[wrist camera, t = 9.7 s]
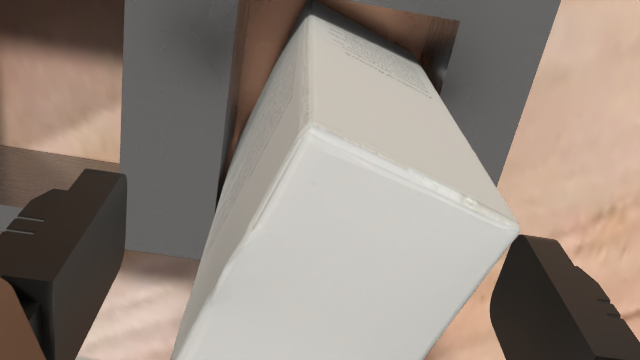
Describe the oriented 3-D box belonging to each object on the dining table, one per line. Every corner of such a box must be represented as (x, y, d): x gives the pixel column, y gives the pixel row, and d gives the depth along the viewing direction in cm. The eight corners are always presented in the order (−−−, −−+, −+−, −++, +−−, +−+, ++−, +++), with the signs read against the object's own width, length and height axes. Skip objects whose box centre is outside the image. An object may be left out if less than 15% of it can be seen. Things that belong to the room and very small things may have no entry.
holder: (-79, 157, 22) (-155, 208, 19) (-119, -141, 18) (-229, -149, 14) (437, 236, 24) (458, 297, 20) (516, -21, 19) (560, 0, 16)
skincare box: (337, 189, 23) (352, 462, 12) (235, 142, 22) (152, 390, 11) (421, 49, 20) (534, 232, 10) (309, -11, 19) (296, 117, 9)
